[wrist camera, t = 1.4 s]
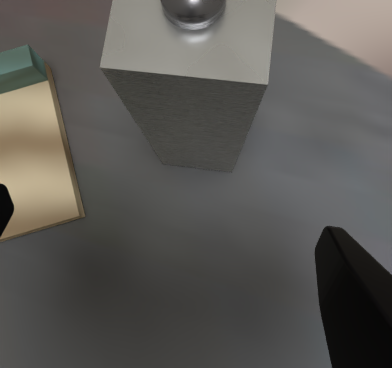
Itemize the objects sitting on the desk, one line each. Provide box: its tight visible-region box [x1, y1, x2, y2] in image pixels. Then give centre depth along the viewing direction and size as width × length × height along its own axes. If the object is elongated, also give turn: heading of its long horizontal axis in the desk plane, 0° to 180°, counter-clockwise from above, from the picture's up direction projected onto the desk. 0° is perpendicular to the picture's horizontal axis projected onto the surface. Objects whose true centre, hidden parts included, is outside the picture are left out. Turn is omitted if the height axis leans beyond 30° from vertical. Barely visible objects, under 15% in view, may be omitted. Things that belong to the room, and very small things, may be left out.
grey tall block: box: [100, 0, 276, 173], centre depth 15 cm, size 5×5×14 cm
